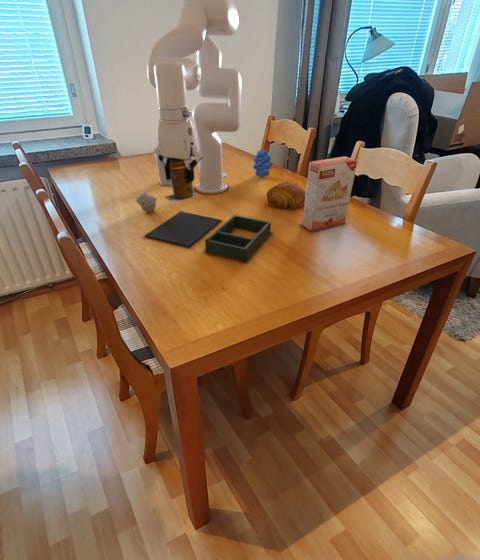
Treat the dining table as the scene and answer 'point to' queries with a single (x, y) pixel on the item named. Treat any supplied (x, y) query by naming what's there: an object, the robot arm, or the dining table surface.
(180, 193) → the condiment
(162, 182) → the cup
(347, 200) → the cracker box
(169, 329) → the dining table surface
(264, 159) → the grapes
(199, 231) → the mat
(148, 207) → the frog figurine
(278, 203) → the croissant
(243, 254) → the caddy
